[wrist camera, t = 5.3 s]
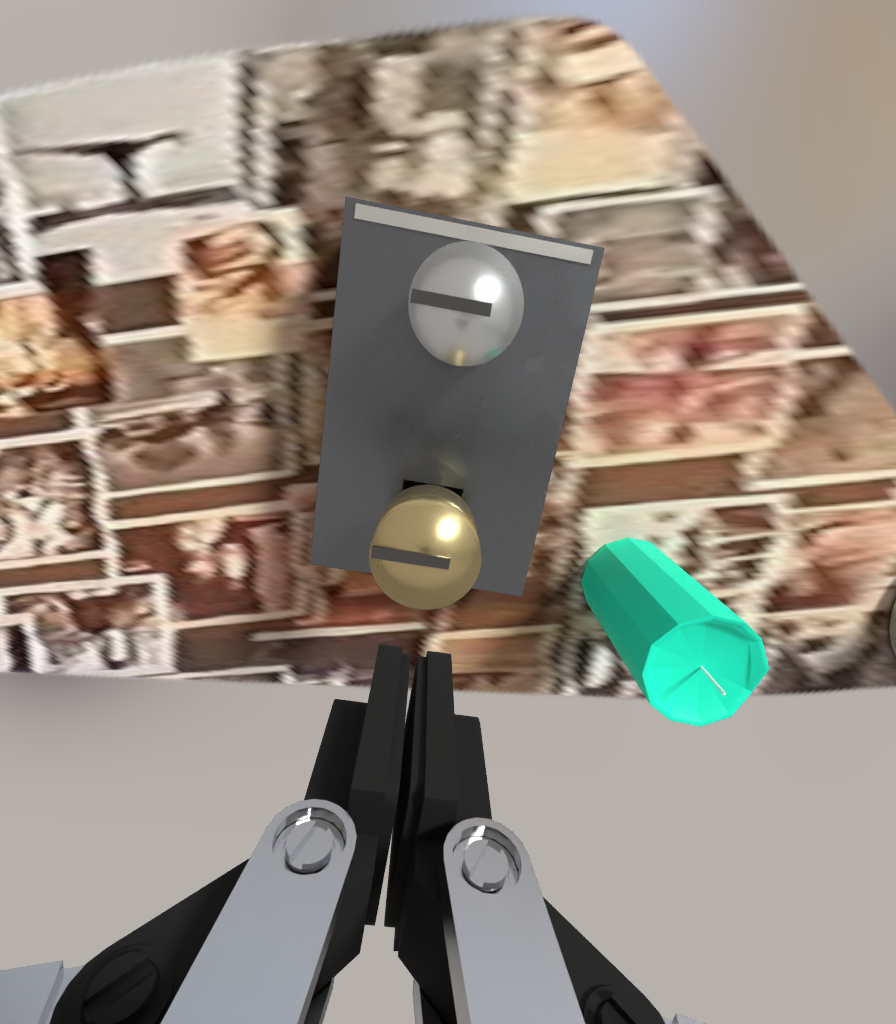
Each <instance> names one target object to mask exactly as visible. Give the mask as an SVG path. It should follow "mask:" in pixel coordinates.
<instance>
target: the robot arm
mask: <svg viewBox="0 0 896 1024" xmlns="http://www.w3.org/2000/svg"><path fill="white" fill-rule="evenodd" d="M889 631H890V640H891V645H892V648H893V651H894V653H895V656H896V601H895V604H894V607H893V610H892V613H891V620H890V629H889ZM410 657H411V655H407V654H402V647H396V646H389V645H381V644H379V649H378V654H377V659H376V664H375V669H374V674H373V679H372V684H371V689H370V694H369V699H368V703H363V702H355V701H346V700H339V699H335V700H334V703H333V705H332V709H331V712H330V716H329V719H328V722H327V725H326V729H325V732H324V736H323V739H322V742H321V745H320V749H319V752H318V756H317V759H316V762H315V765H314V769H313V772H312V776H311V779H310V782H309V786H308V789H307V792H306V795H305V799H304V801H299V802H297V803H294V804H292V805H290V806H288V807H286V808H285V809H283V810H282V811H281V812H279V813H278V814H277V815H276V816H275V817H274V818H273V819H272V821H271V822H270V824H269V825H268V826H267V828H266V829H265V831H264V833H263V835H262V837H261V839H260V841H259V842H258V844H257V846H256V848H255V850H254V852H253V854H252V856H251V857H250V858H249V859H248V860H246V861H244V862H243V863H241V864H240V865H238V866H237V867H235V868H233V869H232V870H230V871H228V872H227V873H225V874H224V875H222V876H221V877H219V878H217V879H216V880H214V881H213V882H211V883H209V884H208V885H206V886H205V887H203V888H201V889H200V890H198V891H197V892H195V893H193V894H192V895H190V896H189V897H187V898H186V899H184V900H182V901H181V902H179V903H178V904H176V905H174V906H173V907H171V908H170V909H168V910H166V911H165V912H163V913H162V914H160V915H159V916H157V917H155V918H154V919H152V920H151V921H149V922H147V923H146V924H144V925H143V926H141V927H139V928H138V929H136V930H135V931H133V932H132V933H130V934H128V935H127V936H125V937H124V938H122V939H120V940H119V941H117V942H116V943H114V944H112V945H111V946H109V947H108V948H106V949H105V950H104V951H102V952H101V953H100V954H98V955H97V956H96V957H94V958H93V959H92V960H90V961H89V962H88V963H87V964H85V966H79V967H73V968H67V969H63V961H56V962H50V963H44V964H38V965H32V966H26V967H20V968H14V969H8V970H2V971H0V1024H322V1023H323V1020H324V1017H325V1013H326V1010H327V1006H328V1003H329V999H330V996H331V992H332V989H333V983H334V977H335V976H336V974H338V973H339V972H340V971H341V970H342V969H343V968H344V967H345V966H346V965H347V964H348V963H349V962H350V961H352V960H353V959H354V958H355V957H356V956H357V955H358V954H359V953H360V949H361V943H362V937H363V932H364V926H365V925H375V922H376V916H377V911H378V905H379V900H380V894H381V889H382V884H383V878H384V872H385V867H386V862H387V856H388V850H389V846H390V840H391V834H392V843H391V854H390V865H389V877H388V888H387V898H386V910H385V921H384V922H385V923H384V926H386V927H395V937H394V938H395V939H394V951H398V957H399V958H400V960H401V961H402V962H403V964H404V965H405V966H406V968H407V969H408V970H409V972H410V973H411V975H412V976H413V977H414V980H413V1003H414V1016H415V1024H704V1023H702V1022H699V1021H696V1020H693V1019H691V1018H688V1017H686V1016H683V1015H680V1014H677V1013H676V1015H675V1017H674V1019H673V1020H670V1019H668V1018H665V1017H662V1016H661V1015H660V1013H659V1012H658V1011H657V1010H656V1008H655V1007H654V1006H653V1005H652V1004H651V1003H650V1001H649V1000H648V999H647V998H646V997H645V996H644V995H643V994H642V993H641V992H640V991H639V990H638V989H637V988H636V987H635V986H634V985H633V984H632V983H631V982H630V981H629V980H628V979H627V978H626V977H625V976H624V975H623V974H622V973H621V972H620V971H619V970H618V969H617V968H616V967H615V966H614V965H613V964H611V963H610V962H609V961H608V960H607V959H606V958H605V957H604V956H603V955H602V954H601V953H600V952H599V951H598V950H597V949H596V948H595V947H594V946H593V945H592V944H591V943H590V942H589V941H588V940H587V939H586V938H585V937H583V935H582V934H580V932H578V930H577V929H575V928H574V927H573V926H572V925H571V924H570V923H569V922H568V921H567V920H566V919H565V918H564V917H563V916H562V915H561V914H560V913H559V912H558V911H557V910H556V909H555V908H554V907H553V906H552V905H551V904H550V903H549V902H548V901H547V900H546V899H545V898H543V896H542V893H541V891H540V887H539V885H538V882H537V879H536V876H535V873H534V870H533V867H532V864H531V861H530V858H529V855H528V853H527V851H526V849H525V847H524V845H523V843H522V842H521V841H520V839H519V838H518V837H517V836H516V835H515V834H514V832H512V831H511V830H509V829H508V828H507V827H505V826H504V825H503V824H501V823H498V822H496V821H493V820H492V816H491V808H490V800H489V792H488V784H487V776H486V768H485V760H484V751H483V743H482V735H481V728H480V722H479V719H478V717H471V716H464V715H456V714H454V698H453V680H452V661H451V654H447V653H439V652H432V651H428V652H427V655H426V657H421V656H418V657H417V662H416V668H415V673H414V679H413V684H412V690H411V695H410V701H409V707H408V712H407V718H406V723H405V717H406V705H407V693H408V681H409V669H410ZM392 829H393V832H392Z"/></svg>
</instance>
